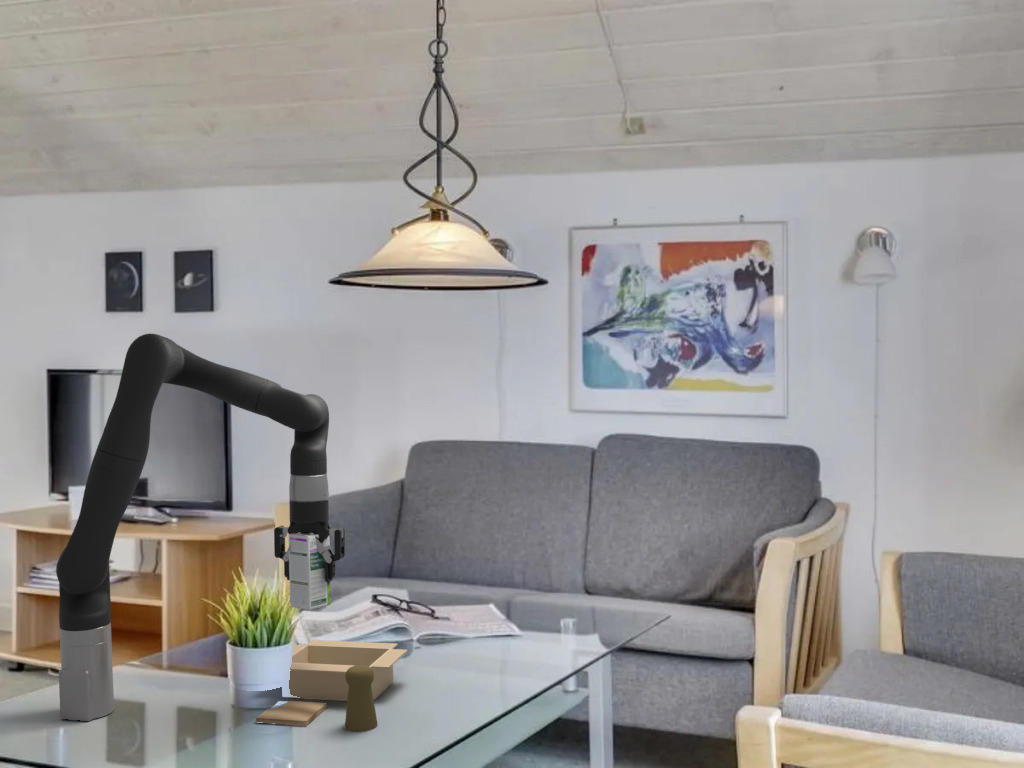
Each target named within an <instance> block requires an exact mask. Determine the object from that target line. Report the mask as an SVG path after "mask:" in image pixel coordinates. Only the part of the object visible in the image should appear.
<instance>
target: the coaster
mask: <svg viewBox="0 0 1024 768" xmlns="http://www.w3.org/2000/svg"><path fill="white" fill-rule="evenodd" d="M288 701H289V702H288V703H287V704H286V705H284V706H281V707H278V708H274V709H268V708H267V709H265V711H263V712H261V713H260V714H258V716H256V717H255V723H256V722H263V723H275V724H274V725H276V724H285V725H284V726H293V727H294V726H296V727H307V726H308V725H310V724H311V723H312V722H313V721H314V720H315V719H316V718H317V717H318V716H320V715H321V714H322V713H323V712H324V711H325V710H327V708H328V703H327V702H315V701H300V700H299V701H297V700H288Z"/></svg>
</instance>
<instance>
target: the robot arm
mask: <svg viewBox="0 0 1024 768" xmlns="http://www.w3.org/2000/svg"><path fill="white" fill-rule="evenodd" d="M119 379H120V380H119V385H118V388H117V391H116V392H117V393H116V397H115V400H114V402H113V405H112V408H111V410H110V412H109V415H108V417H107V421H106V423H105V426H104V429H103V432H102V433H101V436H100V439H99V442H98V445H97V448H96V451H95V453H94V456H93V459H92V462H91V464H90V469H89V472H88V476H87V477H86V478H87V479H86V483H85V487H84V492H83V495H82V496H83V497H82V501H81V508H80V511H79V515H78V518H77V521H76V523H75V527H74V528H73V531H72V533H71V535H70V537H69V540H68V542H67V544H66V546H65V548H64V549H63V550H62V552H61V553H60V555H59V557H58V560H57V563H56V569H55V572H56V574H55V575H56V578H57V580H58V585H59V586H58V589H59V592H58V593H59V594H58V595H59V608H58V611H59V612H58V619H59V620H58V621H59V642H60V643H59V646H60V647H59V648H60V649H59V650H60V669H59V671H58V683H59V684H58V685H59V686H58V688H59V689H58V690H59V710H60V714H59V715H60V720H62V719H68V720H67V721H77V720H80V721H79V722H90V721H92V720H95V719H99V718H102V717H105V716H107V715H109V714H111V713H113V712H114V711H115V703H114V702H115V700H114V699H115V697H114V696H115V695H114V673H113V672H114V671H113V651H112V650H113V646H112V644H113V643H112V622H111V621H112V620H111V617H112V616H111V615H112V614H111V612H112V611H111V602H112V601H111V581H110V580H111V579H110V578H111V575H110V560H111V559H110V557H111V553H112V549H113V545H114V541H115V537H116V534H117V532H118V531H117V530H118V527H119V525H120V522H121V521H122V518H123V516H124V515H125V513H126V511H127V508H128V507H129V504H130V502H131V500H132V498H133V495H134V493H135V491H136V488H137V486H138V484H139V481H140V478H141V475H142V473H143V469H144V467H145V463H146V460H147V458H148V457H147V456H148V452H149V448H150V437H151V423H152V422H151V421H152V419H151V418H152V413H153V408H154V405H155V402H156V400H157V397H158V395H159V392H160V390H161V388H162V385H163V384H169V385H174V386H179V387H185V388H189V389H192V390H196V391H199V392H202V393H205V394H208V395H209V396H211V397H214V398H216V399H219V400H220V401H223V402H225V403H226V404H230V405H232V406H234V407H237V408H238V409H242V410H244V411H248V412H250V413H253V414H255V415H259V416H263V417H266V418H269V419H270V420H272V421H274V422H276V423H278V424H280V425H282V426H284V427H287V428H289V429H291V430H293V431H294V434H293V435H294V437H293V438H294V439H293V445H292V447H291V449H290V453H289V454H290V455H289V457H290V458H289V461H290V462H289V464H290V467H289V470H290V473H289V474H290V478H289V486H288V488H289V489H288V491H289V493H288V494H289V495H288V497H289V502H288V503H289V508H288V509H289V526H284V525H280V526H277V527H275V528H274V529H273V542H274V543H273V544H274V545H273V546H274V548H273V549H274V550H273V551H274V553H273V554H274V557H275V558H276V559H281V560H283V565H284V566H283V571H284V572H283V575H284V577H285V578H286V581H290V578H289V551H291V544H290V546H289V545H288V548H287V550H286V538H287V537H288V535H289V534H296V533H297V534H303V533H310V535H316V534H318V535H319V538H318V537H316V536H315V539H316V541H317V543H318V544H317V550H318V551H319V553H320V554H322V556H323V557H324V559H325V560H326V562H327V563H325V582H330V583H331V582H332V581H333V579H334V578H335V577H336V562H337V561H340V560H341V559H343V558H344V557H346V551H345V550H346V549H345V548H346V543H345V542H346V538H345V537H346V536H345V535H346V533H345V532H346V531H345V528H344V527H339V528H331V527H330V524H329V521H330V518H329V515H330V514H329V512H330V511H329V497H330V491H329V481H328V456H327V442H328V437H329V425H330V413H329V412H330V411H329V407H328V404H327V402H326V401H325V399H324V398H323V397H321V396H320V395H317V394H313V393H311V394H310V393H309V394H303V393H299V392H296V391H292V390H290V389H288V388H285V387H282V386H281V384H279V383H278V382H275V381H273V380H269V379H268V378H264V377H261V376H259V375H256V374H253V373H250V372H248V371H244V370H240V369H237V368H234V367H229V366H227V365H226V366H225V365H222V364H219V363H216V362H213V361H211V360H208V359H205V358H203V357H202V356H199V355H197V354H195V353H194V352H192V351H189V350H188V349H186V348H184V347H182V346H181V345H180V344H177V343H176V342H175V341H174V340H172V339H171V338H168V337H165V336H162V335H160V334H156V333H145V334H142V335H139V336H138V337H136V338H135V339H134V340H132V342H131V344H130V345H129V347H128V349H127V351H126V353H125V358H124V363H123V366H122V370H121V375H120V378H119ZM328 536H329V537H330V536H331V538H332V540H333V541H334V543H333V544H334V551H333V550H332V546H331V545H330V546H329V545H328V546H326V547H324V546H323V545H322V543H323V542H324V540H325V539H327V538H328Z"/></svg>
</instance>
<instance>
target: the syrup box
mask: <svg viewBox="0 0 1024 768" xmlns="http://www.w3.org/2000/svg"><path fill="white" fill-rule="evenodd" d="M315 536H316V537H318V538H319V535H318V534H316V535H310V533H303V534H297V533H296V534H288V547H289V546H290V544H291V551H289V578H290V580H289V605H290V604H291V606H290V607H293V608H296V609H300V610H306V611H312V610H315V609H318V608H319V609H320V608H323V607H327V606H330V605H331V603H332V601H331V600H332V599H331V598H332V597H331V595H332V594H331V593H332V592H331V581H330V582H325V563H327V562H326V560H325V559H324V557H323V556H322V554H320V553H319V551H318V550H317V544H318V543H317V541H316V539H315ZM330 543H331V542H330V535H329V536H328V538H327V539H325V540H324V542H323V543H322V545H323V546H324V547H326V546H328V545H329V546H331V544H330Z"/></svg>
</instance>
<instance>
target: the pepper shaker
mask: <svg viewBox="0 0 1024 768" xmlns="http://www.w3.org/2000/svg"><path fill="white" fill-rule="evenodd" d="M373 679H374V672H373V670H372V668H371V667H369V666H366V665H357V666H352V667H350V668H349V669H348V670H347V672H346V682H347V684H348V685H349V690H348V700H347V701H346V710H345V721H344V729H345V730H347V731H349V732H361V733H362V732H367V731H371V730H374V729H375V728H377V727H378V719H377V714H376V707H375V700H374V699H373V693H372V687H371V684H372V682H373Z"/></svg>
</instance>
